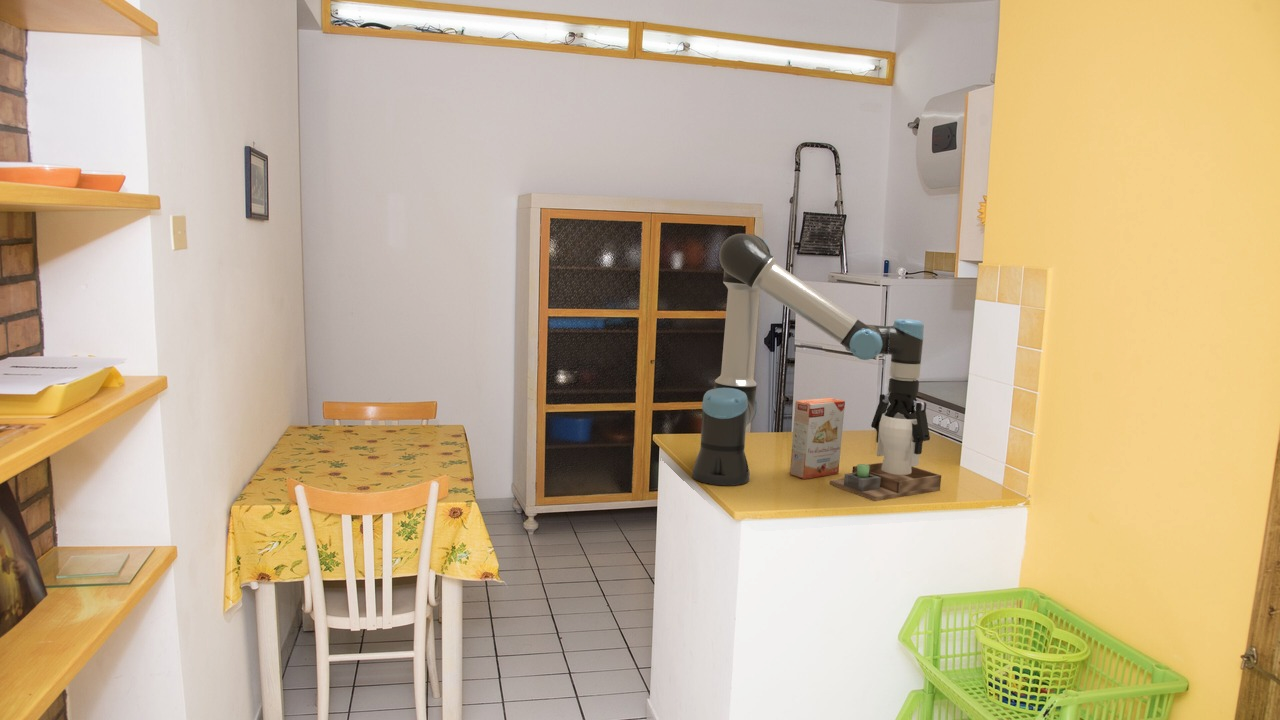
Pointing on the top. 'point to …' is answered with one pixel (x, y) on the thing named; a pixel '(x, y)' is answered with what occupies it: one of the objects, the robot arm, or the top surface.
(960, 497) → the top surface
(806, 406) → the cracker box
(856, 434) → the top surface
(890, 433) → the cup
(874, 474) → the wooden tray
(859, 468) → the button
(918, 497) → the top surface
